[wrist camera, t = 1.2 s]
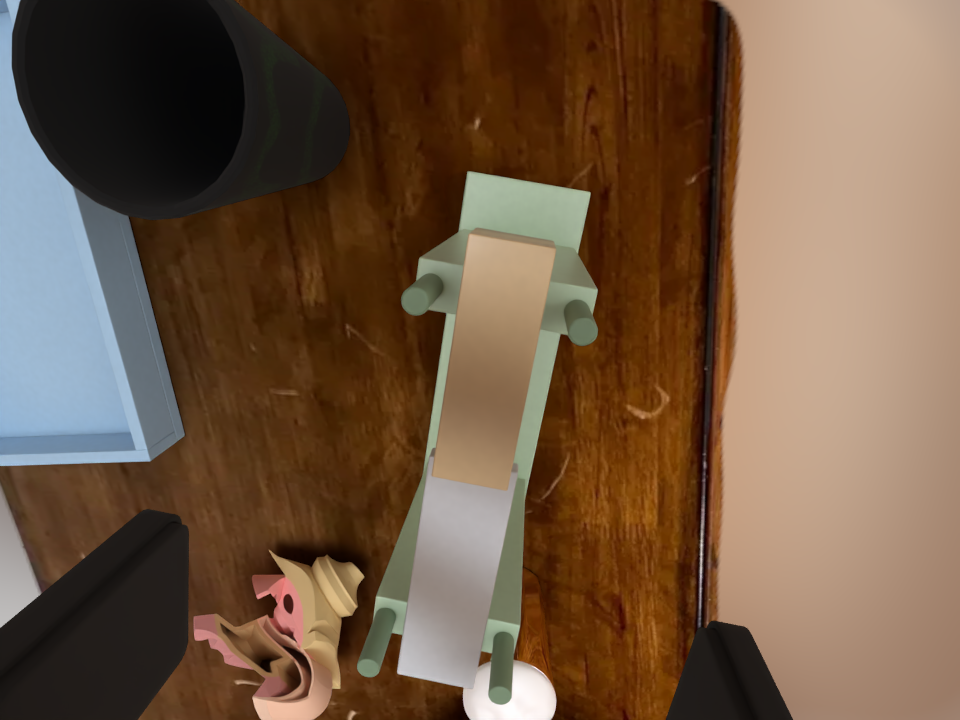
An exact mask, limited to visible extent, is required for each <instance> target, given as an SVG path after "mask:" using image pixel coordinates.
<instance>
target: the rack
mask: <svg viewBox="0 0 960 720" xmlns="http://www.w3.org/2000/svg"><path fill="white" fill-rule="evenodd" d="M590 195H591V193H590V192H588V191H582V190H576V189H570V188H564V187H559V186H553V185H547V184H541V183H535V182H529V181H524V180H518V179H512V178H506V177H500V176H494V175H489V174H483V173H477V172H471V171H468V172H467V177H466V184H465V190H464V197H463V204H462V211H461V218H460V224H459V231H458V233H456V234H455V235H453V236H452V237H450V238H449V239H447V240H446V241H444V242H443V243H441V244H440V245H438V246H437V247H435V248H434V249H432V250H431V251H429V252H428V253H426V254H425V255H423V256H422V257H420V258H419V262H418V270H417V278H416V282H415V283H413V284H412V285H411V286H410V287H409V288H407V289H406V290H405V291H404V293H403V294H402V297H401V303H402V306H403V308H404V310H405V311H406V312H407V313H409V314H411V315H422V314H424V313H425V312H426V311H427V310H432V311H438V312H443V313H446V320H445V326H444V333H443V340H442V347H441V354H440V360H439V367H438V374H437V381H436V388H435V394H434V401H433V408H432V415H431V422H430V428H429V435H428V442H427V449H426V456H425V462H424V469H423V476H422V478H421V481H420V483H419V486H418V489H417V491H416V494H415V496H414V499H413V502H412V504H411V507H410V509H409V512H408V515H407V517H406V520H405V522H404V525H403V528H402V530H401V533H400V535H399V538H398V541H397V543H396V546H395V548H394V551H393V554H392V556H391V559H390V561H389V564H388V567H387V569H386V572H385V574H384V577H383V580H382V582H381V585H380V587H379V590H378V592H377V595H376V600H375V608H374V616H373V623H372V625H371V628H370V631H369V634H368V636H367V639H366V642H365V644H364V647H363V650H362V652H361V655H360V658H359V661H358V663H357V669H358V671H359V673H360V674H361V675H363V676H365V677H374V676H376V675H377V674H378V673H379V671H380V668H381V665H382V661H383V658H384V655H385V652H386V649H387V646H388V643H389V639H390V636H391V633H396V634H401V635H403V628H404V621H405V615H406V608H407V601H408V595H409V588H410V581H411V575H412V568H413V561H414V555H415V548H416V541H417V534H418V528H419V521H420V514H421V508H422V501H423V494H424V488H425V481H426V474H427V468H428V461H429V456H430V453H431V451H432V449H433V448H436V442H437V435H438V429H439V422H440V416H441V409H442V403H443V396H444V390H445V383H446V376H447V370H448V363H449V357H450V350H451V344H452V337H453V331H454V324H455V318H456V311H457V304H458V298H459V291H460V285H461V278H462V272H463V265H464V259H465V252H466V246H467V239H468V234H469V233H470V232H471V231H473V230H474V229H475V228H483V229H489V230H495V231H500V232H506V233H512V234H517V235H523V236H529V237H534V238H540V239H546V240H552V241H554V243H555V247H556V255H555V260H554V265H553V270H552V274H551V279H550V284H549V289H548V294H547V299H546V304H545V309H544V314H543V319H542V324H541V329H540V334H539V338H538V343H537V348H536V353H535V358H534V363H533V368H532V373H531V378H530V383H529V388H528V393H527V397H526V402H525V407H524V412H523V417H522V422H521V427H520V432H519V437H518V442H517V447H516V452H515V457H514V461H513V463H517V464H518V476H517V481H516V486H515V491H514V495H513V500H512V505H511V510H510V515H509V519H508V524H507V529H506V534H505V539H504V544H503V548H502V553H501V558H500V563H499V568H498V572H497V577H496V582H495V587H494V592H493V597H492V601H491V606H490V611H489V616H488V621H487V625H486V630H485V635H484V640H483V645H482V649H481V651H483V652H488V653H492V659H491V670H490V680H489V691H488V696H489V699H490V700H491V701H492V702H493V703H495V704H498V705H503V704H507V703H508V702H509V701H510V700H511V697H512V679H513V658H514V651H515V647H516V642H517V638H518V634H519V629H520V621H521V593H522V565H523V537H524V509H525V497H526V492H527V487H528V483H529V478H530V473H531V469H532V464H533V459H534V455H535V450H536V446H537V441H538V436H539V432H540V427H541V422H542V418H543V413H544V408H545V404H546V399H547V395H548V390H549V385H550V381H551V376H552V371H553V367H554V362H555V357H556V353H557V348H558V344H559V339H560V334H564V335H568V336H569V339H570V340H571V341H572V342H573V343H574V344H576V345H579V346H585V345H589V344H591V343H592V342H593V341H594V340H595V339H596V337H597V334H598V328H597V325H596V323H595V320H594V318H593V315H592V314H593V310H594V305H595V301H596V297H597V292H598V289H597V288H596V286H595V284H594V282H593V281H592V279H591V277H590V275H589V273H588V272H587V270H586V268H585V266H584V264H583V263H582V261H581V259H580V257H579V256H578V251H579V246H580V241H581V237H582V232H583V228H584V223H585V218H586V214H587V209H588V204H589V200H590Z"/></svg>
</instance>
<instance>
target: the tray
mask: <svg viewBox="0 0 960 720" xmlns="http://www.w3.org/2000/svg"><path fill="white" fill-rule="evenodd" d="M19 2H20V0H0V466H15V465H46V464H77V463H108V462H139V461H151V460H153V459H154V458H155V457H157V456H158V455H159V454H161V453H162V452H164V451H165V450H166V449H168V448H169V447H170V446H172V445H173V444H175V443H176V442H177V441H178V440H180V439H181V438H183V437H184V436H185V433H184V429H183V426H182V422H181V418H180V414H179V410H178V406H177V402H176V399H175V395H174V391H173V387H172V383H171V379H170V375H169V371H168V368H167V364H166V360H165V356H164V352H163V348H162V344H161V341H160V337H159V333H158V329H157V325H156V321H155V317H154V313H153V310H152V306H151V302H150V298H149V294H148V290H147V286H146V283H145V279H144V275H143V271H142V267H141V263H140V259H139V255H138V252H137V248H136V244H135V240H134V236H133V232H132V228H131V225H130V221H129V217H128V216H126V215H123V214H120V213H118V212H116V211H114V210H111V209H109V208H107V207H104V206H102V205H100V204H97V203H96V202H94V201H93V200H92V199H90V198H89V197H87V196H86V195H85V194H83V193H82V192H80V191H79V190H78V189H76V188H75V187H73V186H72V185H71V184H70V183H69V182H68V181H67V180H66V179H65V178H64V177H63V175H62V174H61V173H60V172H59V171H58V170H57V169H56V168H55V167H54V166H53V165H52V164H51V163H50V162H49V160H48V159H47V157H46V156H45V154H44V152H43V151H42V149H41V148H40V146H39V145H38V143H37V141H36V140H35V138H34V137H33V135H32V134H31V132H30V129H29V127H28V124H27V122H26V119H25V117H24V114H23V112H22V109H21V107H20V104H19V102H18V98H17V93H16V87H15V82H14V77H13V72H12V31H13V27H14V23H15V19H16V15H17V11H18V7H19Z"/></svg>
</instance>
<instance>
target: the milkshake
mask: <svg viewBox="0 0 960 720" xmlns="http://www.w3.org/2000/svg"><path fill="white" fill-rule="evenodd" d="M491 659H492V653H488V652H483V651H481V654H480V659H479V664H478V669H477V674H476V678H475V683H474V688H473V689H468V688H464V690H463V704H464V709H465V712H466V714H467V716H468V717H469V719H470V720H551V719H552V717H553V715H554V713H555V710H556V695H555V688H554V681H553V675H552V668H551V662H550V656H549V649H548V640H547V631H546V622H545V614H544V605H543V596H542V590H541V587H540V584H539V581H538V578H537V576H536V575H534V574H533V573H531V572H530V571H529V570H527V569H526V568H524V567H522V593H521V621H520V629H519V634H518V638H517V642H516V647H515V651H514V658H513V679H512V697H511V700H510V701H509V702H508V703H507V704H503V705H498V704H495V703H493V702H492V701H491V700H490V699H489V696H488V691H489V680H490V670H491Z"/></svg>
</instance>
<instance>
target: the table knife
mask: <svg viewBox="0 0 960 720" xmlns="http://www.w3.org/2000/svg"><path fill="white" fill-rule="evenodd" d="M555 255H556V247H555V243H554V241H552V240H546V239H540V238H534V237H529V236H523V235H517V234H512V233H506V232H500V231H495V230H489V229H483V228H475V229H474V230H473V231H471V232H470V233H469V234H468V239H467V246H466V252H465V259H464V265H463V272H462V278H461V285H460V291H459V298H458V304H457V311H456V318H455V324H454V331H453V337H452V344H451V350H450V357H449V363H448V370H447V376H446V383H445V390H444V396H443V403H442V409H441V416H440V422H439V429H438V435H437V442H436V448H433V449H432V451H431V453H430V456H429V461H428V468H427V474H426V481H425V488H424V494H423V501H422V508H421V514H420V521H419V528H418V534H417V541H416V548H415V555H414V561H413V568H412V575H411V581H410V588H409V595H408V601H407V608H406V615H405V621H404V628H403V635H402V641H401V648H400V655H399V662H398V668H397V673H398V674H401V675H406V676H411V677H415V678H420V679H425V680H430V681H435V682H439V683H444V684H449V685H454V686H459V687H463V688H468V689H473V688H474V683H475V678H476V674H477V669H478V664H479V659H480V654H481V649H482V645H483V640H484V635H485V630H486V625H487V621H488V616H489V611H490V606H491V601H492V597H493V592H494V587H495V582H496V577H497V572H498V568H499V563H500V558H501V553H502V548H503V544H504V539H505V534H506V529H507V524H508V519H509V515H510V510H511V505H512V500H513V495H514V491H515V486H516V481H517V476H518V464H517V463H513V461H514V457H515V452H516V447H517V442H518V437H519V432H520V427H521V422H522V417H523V412H524V407H525V402H526V397H527V393H528V388H529V383H530V378H531V373H532V368H533V363H534V358H535V353H536V348H537V343H538V338H539V334H540V329H541V324H542V319H543V314H544V309H545V304H546V299H547V294H548V289H549V284H550V279H551V274H552V270H553V265H554V260H555Z"/></svg>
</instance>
